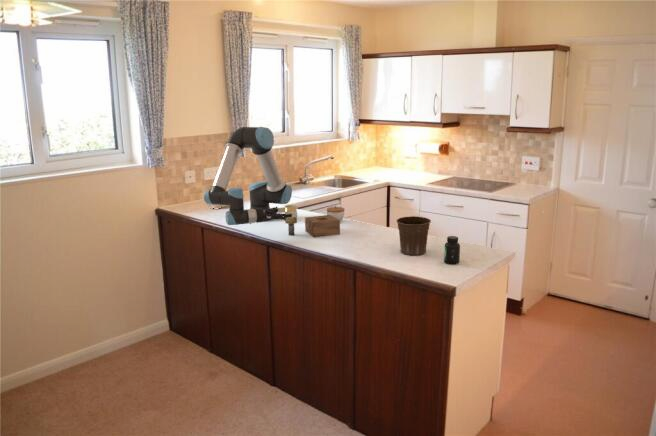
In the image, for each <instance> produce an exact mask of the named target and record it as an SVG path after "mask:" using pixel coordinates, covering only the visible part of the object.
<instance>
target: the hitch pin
mask: <svg viewBox="0 0 656 436" xmlns="http://www.w3.org/2000/svg"><path fill="white" fill-rule="evenodd" d="M284 207H285V212H284V214H285V213H290V212H297V209H298V208H297V205H293V204H290V205H289V204H288V205H285V206H284ZM297 213H298V212H297ZM284 222H285V224H287V225H288V227H287V228H288V230H287V231H288V236H295V224H297V222H298V216H297V217H293V218H286V220H284Z"/></svg>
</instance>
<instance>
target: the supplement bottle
mask: <svg viewBox="0 0 656 436" xmlns="http://www.w3.org/2000/svg"><path fill="white" fill-rule="evenodd" d="M446 239H447V240H446V242H445V243H444V251H443V253H444V254H443V255H444V256H443V258H444V259H443V261H444V263H445V264H446V265H451V266H452V265H458V264H459V263H460V261H461V260H460V255H461V245H460V243H459V237H458V236H455V235H448V236H447V237H446Z"/></svg>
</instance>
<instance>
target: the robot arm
mask: <svg viewBox="0 0 656 436" xmlns="http://www.w3.org/2000/svg"><path fill="white" fill-rule="evenodd" d="M274 138H275V137H274V134H273V132H272V130H271V129H270V128H269V127H264V126H241V127H238V128H237V129H236V130H234V131H233V133H231V134H230V136H229V137H228V139H227V140H226V143H225V145H224V147H225V151H224V154H223V157H222V159H221V162H220V164H219V167H218V170H217V173H216V175H215V177H214V180H213V183H212V186H211V188H210V189H207V190H205V192H204V193H203V201H204V202H205V204H206V203H207V204H208V205H209V204H212V205H222V206H227V207H229V210H228V211H226V212H225V222H226V224H227V225H228V226H238V225H247V224H249V225H251V224H255V223H257V224H258V223H263V222H266V221H271V220H284V221H285V220H286V218H293V217H297V218H298V212H290V213H285V206H283V207H278V206H274V207H270V204H277V205H287V204H289V202H291V198H292V194H293V193H292V192H293V189H292V186H291V185H290V184H287V183H286V181H285V180H284V179H283V178H282V177H281V174H280V172H279V168H278V166H277V163H276V160H275V157H274V154H273V152H272V150H273V147H274V144H275V140H274ZM244 149H251V151H252V153H253V155H255V156H257V159H258V162H259V165H260V167H261V170H262V173H263V175H264V178H265V180H263V181H262V180H261V181H255V182H252V183H250V184H249V190H248V191H249V205H250V207H249V209H245V205H244V193H243V191H244V190H243V188H241V187H229V188H228V185H229V182H230V180H231V177H232V174H233V173H234V172H233V171H234V169H235V165H236V164H237V160H238V158H239V155H240V154H242V152H243V150H244ZM227 188H228V191H227Z"/></svg>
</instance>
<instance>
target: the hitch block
mask: <svg viewBox="0 0 656 436" xmlns="http://www.w3.org/2000/svg"><path fill="white" fill-rule="evenodd" d="M304 226H305V227H304V229H305V230H304V231H305V232H306V233H308V234H309V235H310V236H312V237H313V238H322V237H324V238H325V237H332V236H337V235H338V236H339V235H341V222H340V220H338V219H336V218H335V217H333V216H331V215H327V214H324V215H315V216H314V215H313V216H305V217H304Z"/></svg>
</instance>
